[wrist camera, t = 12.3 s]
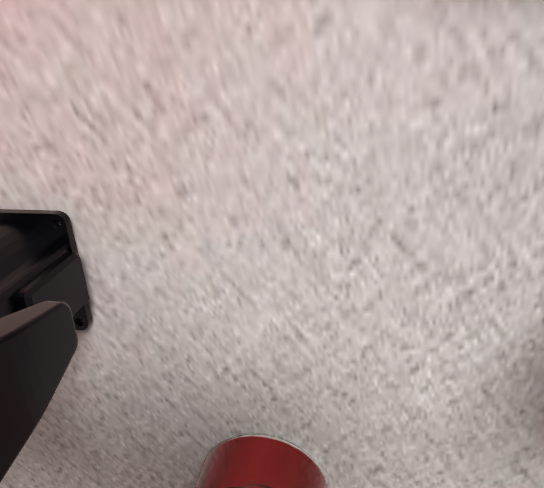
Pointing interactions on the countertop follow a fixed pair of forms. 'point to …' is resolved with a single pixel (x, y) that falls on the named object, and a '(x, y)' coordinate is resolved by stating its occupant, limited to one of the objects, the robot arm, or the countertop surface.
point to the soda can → (259, 465)
